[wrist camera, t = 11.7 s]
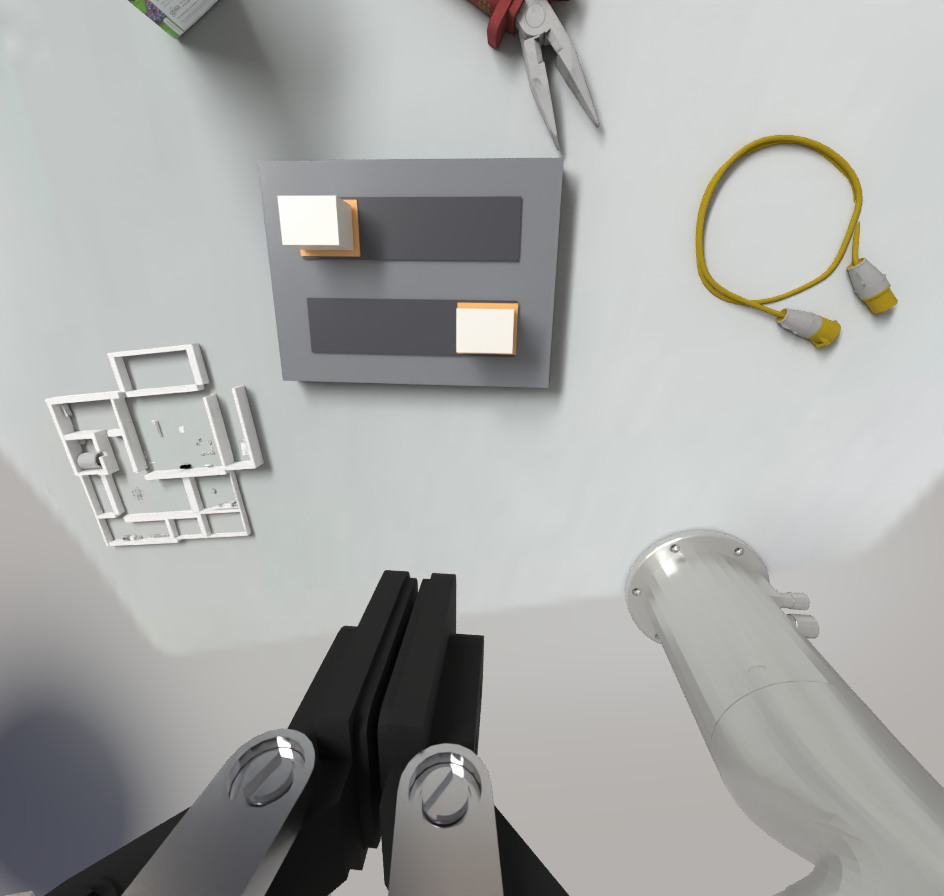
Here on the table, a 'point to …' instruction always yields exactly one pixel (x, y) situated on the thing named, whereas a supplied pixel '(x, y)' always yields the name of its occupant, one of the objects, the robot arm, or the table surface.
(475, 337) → the tab
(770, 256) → the table surface
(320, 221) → the tab
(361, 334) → the switch panel
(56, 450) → the table surface
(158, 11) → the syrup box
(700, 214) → the extension cord
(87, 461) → the floor plan model
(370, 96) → the table surface
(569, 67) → the pliers
